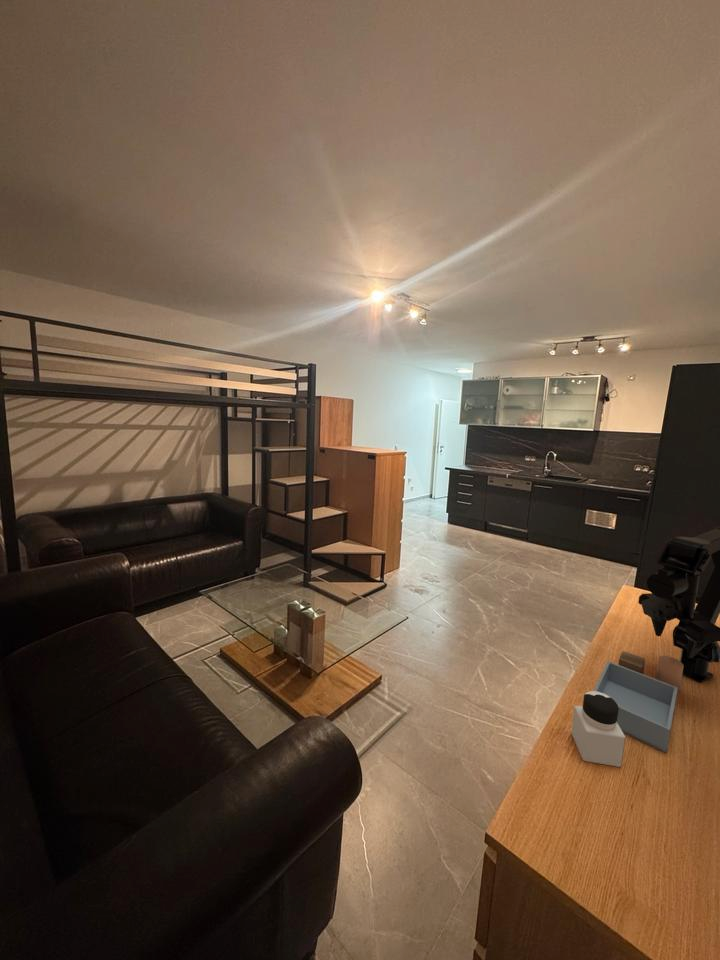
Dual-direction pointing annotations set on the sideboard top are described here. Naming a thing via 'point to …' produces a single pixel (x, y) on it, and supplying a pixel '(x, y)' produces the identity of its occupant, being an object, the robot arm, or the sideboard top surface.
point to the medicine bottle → (598, 730)
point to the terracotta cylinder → (669, 671)
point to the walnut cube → (632, 662)
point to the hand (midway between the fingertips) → (673, 646)
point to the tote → (640, 704)
